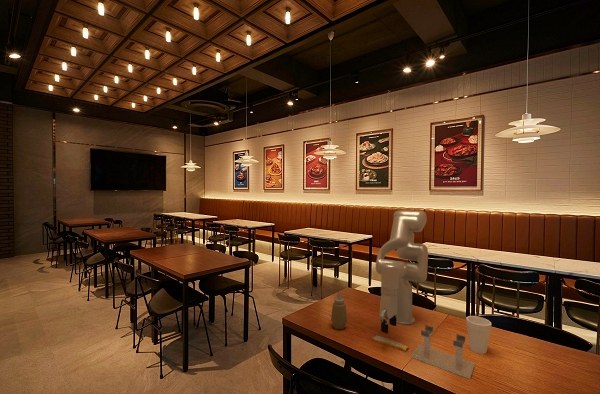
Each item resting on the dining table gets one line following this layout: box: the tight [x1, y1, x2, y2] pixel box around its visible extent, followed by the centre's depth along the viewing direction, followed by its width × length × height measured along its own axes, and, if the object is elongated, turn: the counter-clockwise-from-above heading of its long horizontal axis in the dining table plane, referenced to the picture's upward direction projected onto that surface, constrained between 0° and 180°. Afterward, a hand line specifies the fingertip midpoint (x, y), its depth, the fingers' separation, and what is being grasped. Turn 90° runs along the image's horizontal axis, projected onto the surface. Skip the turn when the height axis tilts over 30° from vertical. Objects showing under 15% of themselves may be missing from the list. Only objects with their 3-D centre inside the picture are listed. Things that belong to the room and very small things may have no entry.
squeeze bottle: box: [330, 291, 348, 330], centre depth 142 cm, size 8×8×18 cm
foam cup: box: [465, 315, 492, 355], centre depth 122 cm, size 10×9×13 cm
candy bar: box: [371, 334, 409, 351], centre depth 127 cm, size 17×4×2 cm, turn 51°
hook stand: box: [411, 325, 475, 380], centre depth 113 cm, size 10×21×12 cm, turn 50°
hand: (388, 328), depth 126 cm, fingers open, 9 cm apart
